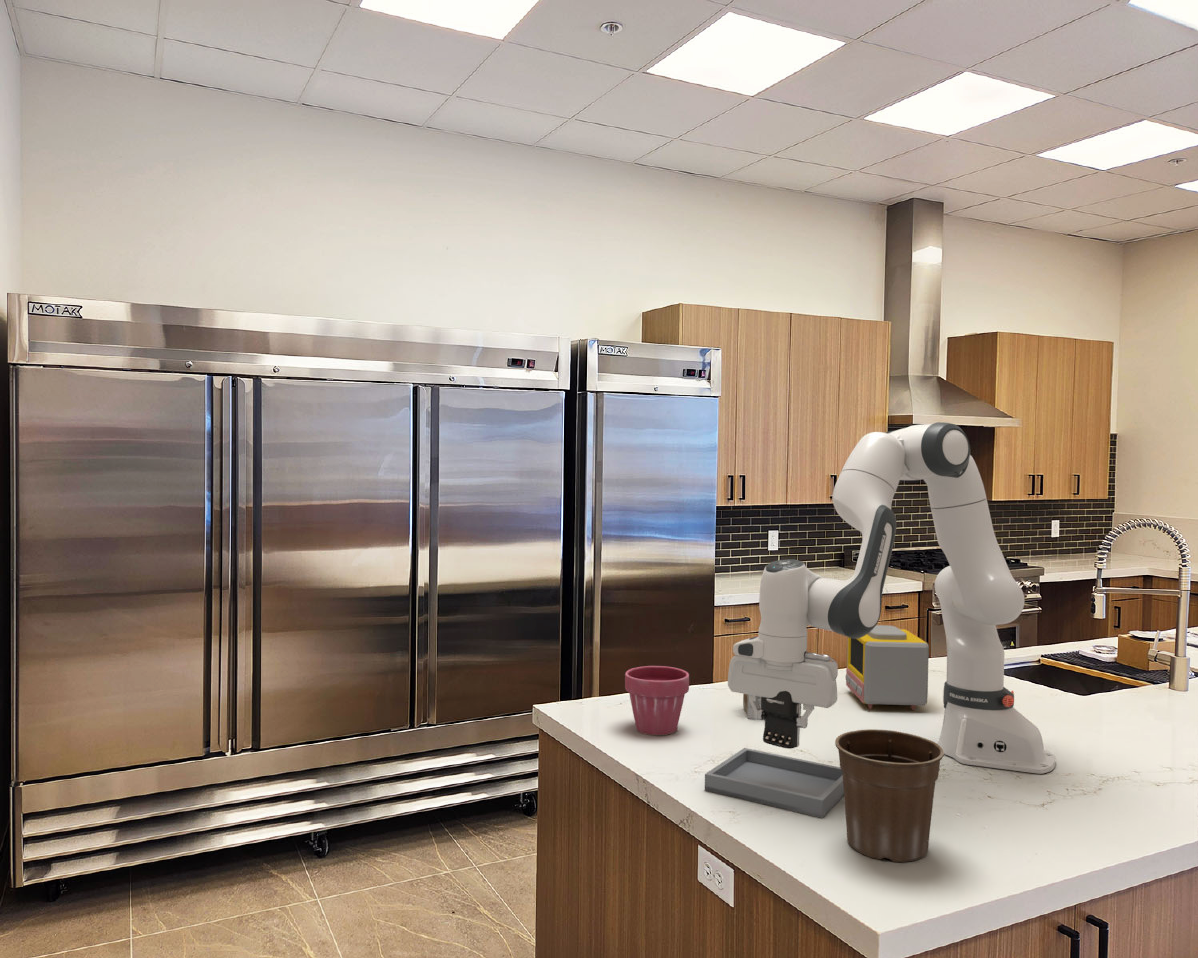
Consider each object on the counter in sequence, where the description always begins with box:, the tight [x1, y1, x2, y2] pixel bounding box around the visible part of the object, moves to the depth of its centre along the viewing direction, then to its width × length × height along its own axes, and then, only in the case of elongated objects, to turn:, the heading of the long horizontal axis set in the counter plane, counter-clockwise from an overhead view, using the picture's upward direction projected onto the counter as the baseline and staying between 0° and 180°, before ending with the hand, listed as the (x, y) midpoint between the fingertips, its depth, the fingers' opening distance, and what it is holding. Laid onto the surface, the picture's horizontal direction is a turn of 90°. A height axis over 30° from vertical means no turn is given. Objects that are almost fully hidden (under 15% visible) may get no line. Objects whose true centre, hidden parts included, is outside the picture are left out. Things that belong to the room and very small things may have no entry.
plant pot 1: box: [624, 665, 690, 736], centre depth 199 cm, size 14×14×13 cm
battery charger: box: [761, 691, 802, 750], centre depth 164 cm, size 7×4×11 cm, turn 49°
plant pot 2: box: [834, 728, 945, 863], centre depth 140 cm, size 16×16×16 cm
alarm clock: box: [845, 624, 930, 711], centre depth 225 cm, size 20×16×18 cm
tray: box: [704, 747, 844, 819], centre depth 164 cm, size 22×18×3 cm
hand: (780, 723), depth 164 cm, fingers closed on battery charger, 7 cm apart
